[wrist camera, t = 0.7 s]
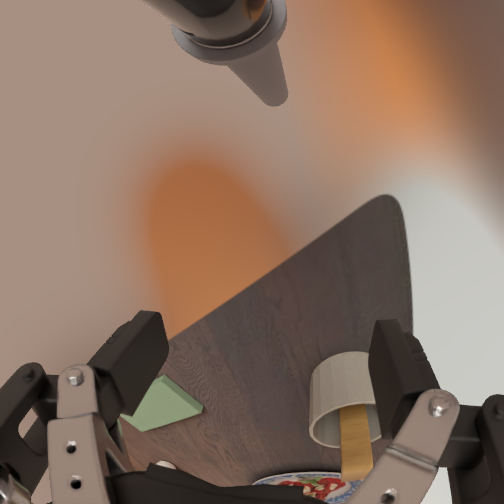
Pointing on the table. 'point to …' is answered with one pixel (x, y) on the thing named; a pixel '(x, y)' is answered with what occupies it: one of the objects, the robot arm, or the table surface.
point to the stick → (354, 443)
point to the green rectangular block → (163, 405)
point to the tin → (340, 396)
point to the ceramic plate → (316, 485)
